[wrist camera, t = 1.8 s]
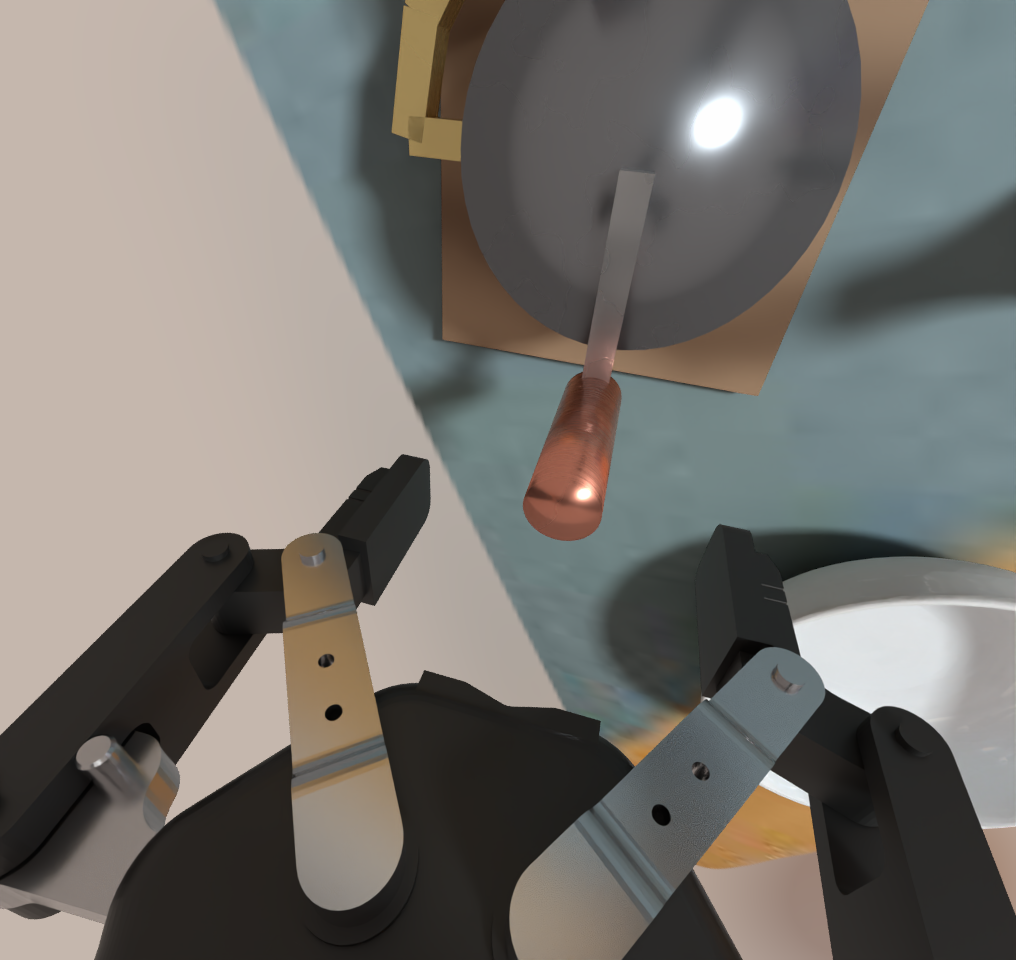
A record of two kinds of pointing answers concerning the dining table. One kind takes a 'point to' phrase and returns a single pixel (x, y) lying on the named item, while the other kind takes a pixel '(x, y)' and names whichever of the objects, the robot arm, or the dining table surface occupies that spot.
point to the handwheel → (635, 178)
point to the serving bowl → (920, 658)
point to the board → (700, 361)
